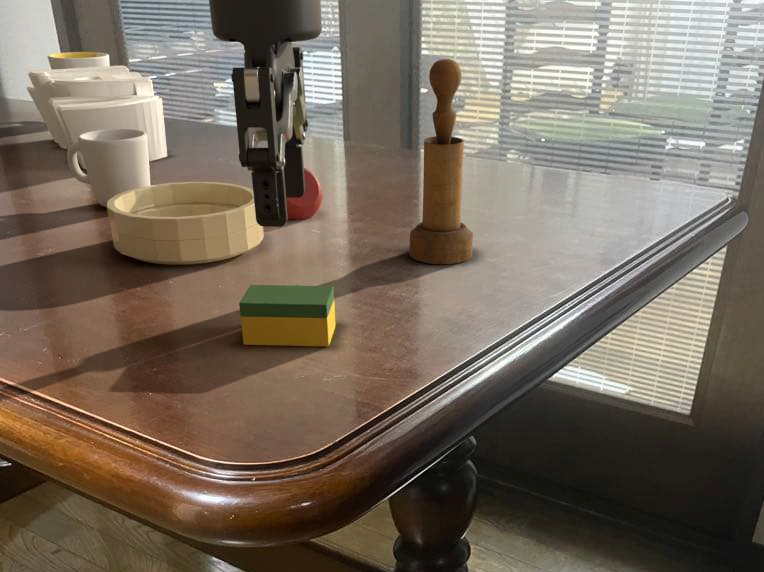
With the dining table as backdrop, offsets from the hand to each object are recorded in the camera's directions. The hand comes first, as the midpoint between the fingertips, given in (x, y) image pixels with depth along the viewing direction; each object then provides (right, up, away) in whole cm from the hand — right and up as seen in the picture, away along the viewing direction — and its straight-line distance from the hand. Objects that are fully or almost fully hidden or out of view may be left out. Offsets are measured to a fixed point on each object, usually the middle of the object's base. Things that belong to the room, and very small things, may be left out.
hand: (282, 210), depth 67 cm
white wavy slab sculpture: (-38, +35, +69) cm, 86 cm away
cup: (-27, +16, +42) cm, 52 cm away
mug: (-48, +51, +92) cm, 116 cm away
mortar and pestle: (+13, +4, +24) cm, 28 cm away
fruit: (-4, +14, +38) cm, 41 cm away
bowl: (-14, +6, +27) cm, 31 cm away
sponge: (0, -8, +6) cm, 10 cm away
